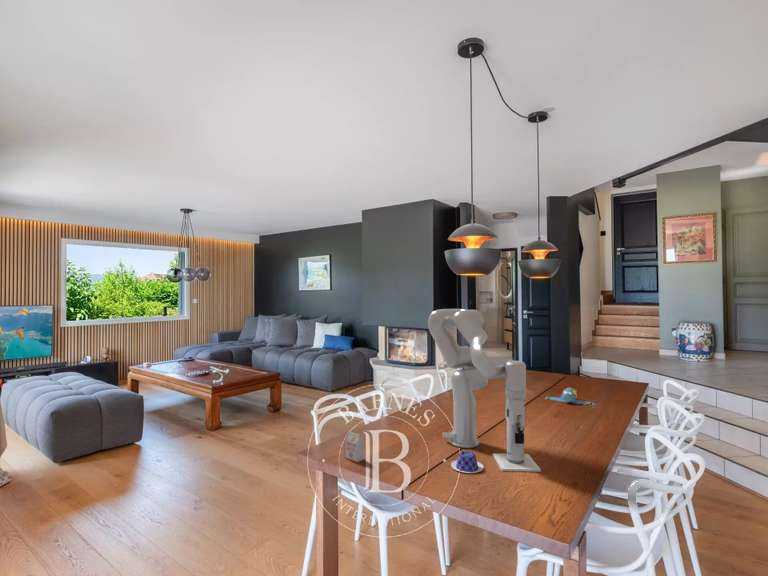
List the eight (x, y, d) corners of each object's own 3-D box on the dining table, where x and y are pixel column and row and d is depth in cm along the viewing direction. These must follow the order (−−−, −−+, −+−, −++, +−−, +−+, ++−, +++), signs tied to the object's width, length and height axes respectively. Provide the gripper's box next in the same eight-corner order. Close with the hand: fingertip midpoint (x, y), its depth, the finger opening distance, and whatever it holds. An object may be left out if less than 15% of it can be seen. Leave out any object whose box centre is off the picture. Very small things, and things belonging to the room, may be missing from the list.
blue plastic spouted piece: (597, 388, 238) (594, 394, 226) (597, 403, 238) (594, 409, 226) (547, 382, 254) (541, 387, 241) (547, 396, 254) (542, 402, 241)
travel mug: (506, 462, 151) (506, 409, 151) (507, 456, 157) (507, 404, 157) (523, 465, 149) (523, 411, 149) (524, 458, 155) (524, 406, 155)
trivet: (501, 471, 146) (501, 468, 146) (492, 455, 160) (492, 453, 160) (540, 471, 146) (540, 469, 146) (528, 455, 160) (528, 453, 160)
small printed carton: (351, 454, 161) (351, 429, 161) (363, 459, 156) (363, 433, 156) (344, 457, 158) (344, 432, 158) (356, 462, 153) (356, 436, 154)
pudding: (445, 462, 154) (445, 449, 154) (474, 459, 157) (474, 446, 157) (459, 476, 142) (459, 461, 142) (489, 473, 145) (489, 458, 145)
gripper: (499, 388, 162) (499, 430, 162) (512, 399, 145) (512, 447, 145) (518, 388, 162) (518, 431, 162) (533, 399, 145) (533, 447, 144)
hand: (515, 438), depth 153 cm, fingers open, 9 cm apart
